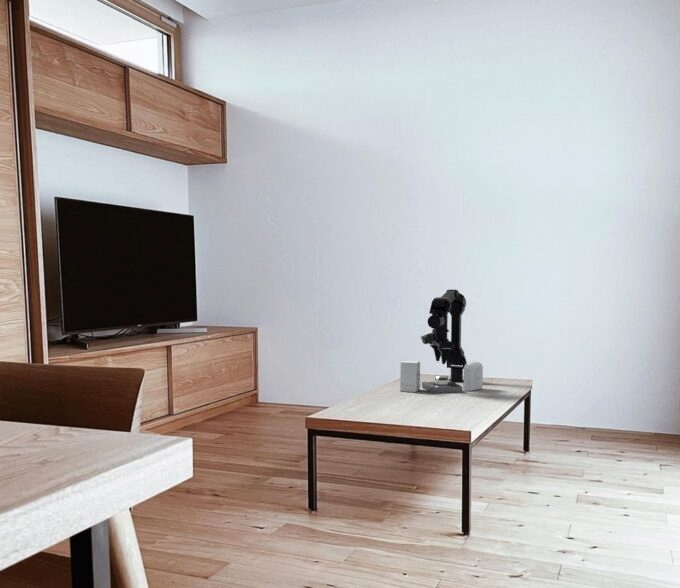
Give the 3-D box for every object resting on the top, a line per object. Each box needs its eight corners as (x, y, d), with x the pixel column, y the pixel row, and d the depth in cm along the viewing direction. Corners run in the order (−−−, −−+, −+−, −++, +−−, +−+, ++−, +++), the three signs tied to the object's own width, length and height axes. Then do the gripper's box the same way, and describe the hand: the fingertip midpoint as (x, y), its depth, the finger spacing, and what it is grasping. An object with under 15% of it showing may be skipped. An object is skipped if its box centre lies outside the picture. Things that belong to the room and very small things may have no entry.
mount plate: (422, 387, 302) (422, 382, 302) (452, 387, 304) (452, 381, 304) (430, 393, 288) (430, 387, 288) (462, 392, 290) (462, 386, 290)
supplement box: (416, 392, 290) (416, 362, 289) (399, 391, 292) (399, 362, 292) (420, 389, 297) (420, 360, 296) (403, 388, 299) (403, 360, 299)
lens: (433, 389, 299) (433, 375, 298) (445, 389, 299) (445, 375, 299) (437, 391, 293) (437, 377, 293) (449, 391, 294) (449, 377, 294)
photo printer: (475, 387, 303) (476, 360, 302) (483, 389, 300) (484, 361, 299) (461, 390, 296) (462, 362, 295) (470, 391, 292) (470, 363, 292)
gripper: (417, 325, 305) (417, 360, 305) (428, 328, 286) (428, 365, 287) (441, 325, 306) (441, 359, 307) (454, 328, 288) (453, 365, 288)
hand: (440, 362), depth 297 cm, fingers open, 9 cm apart
